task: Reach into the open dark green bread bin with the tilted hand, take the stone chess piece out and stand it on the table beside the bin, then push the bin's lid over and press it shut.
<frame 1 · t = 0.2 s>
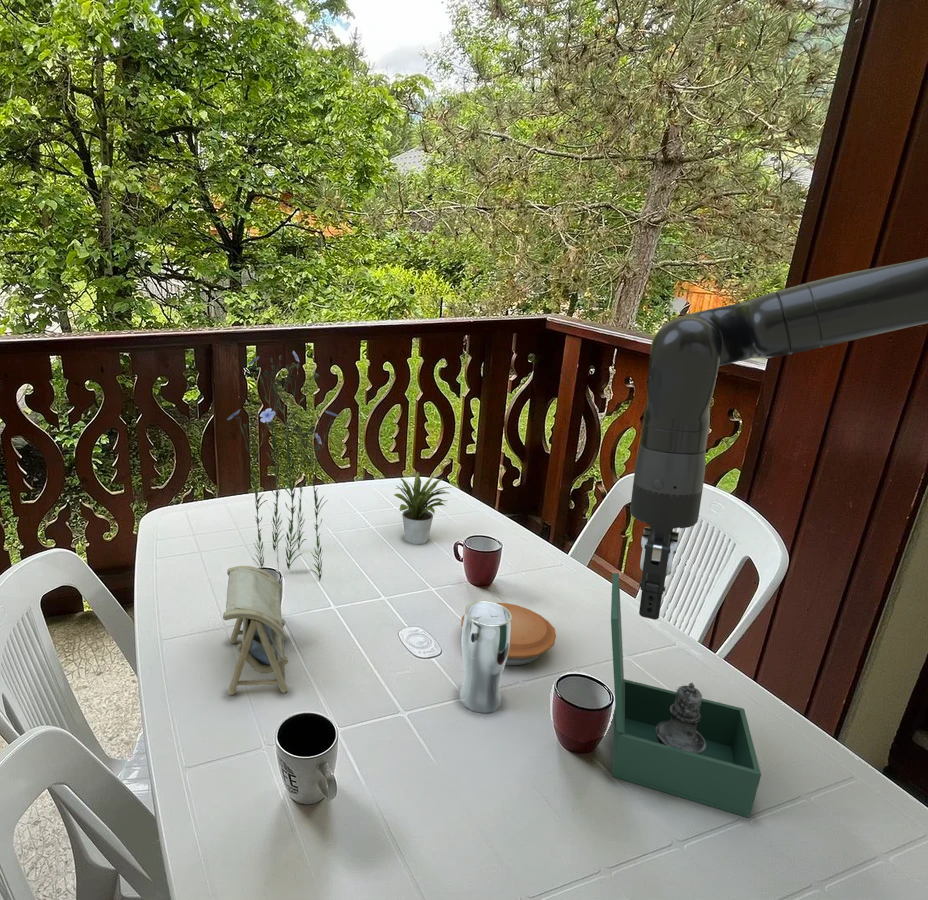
hand: (651, 602, 82), 22 cm above the table, tool pointing down, fingers open, 8 cm apart
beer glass: (479, 700, 96), on the table
house plant: (415, 542, 147), on the table
bread bin: (674, 762, 84), on the table
stone chess piece: (675, 759, 84), resting on bread bin
pie: (505, 646, 109), on the table
bin lid: (617, 649, 83), point 15 cm above the table, hinge at 100.0°
swing bench: (257, 666, 103), on the table
wildflower: (287, 567, 135), on the table
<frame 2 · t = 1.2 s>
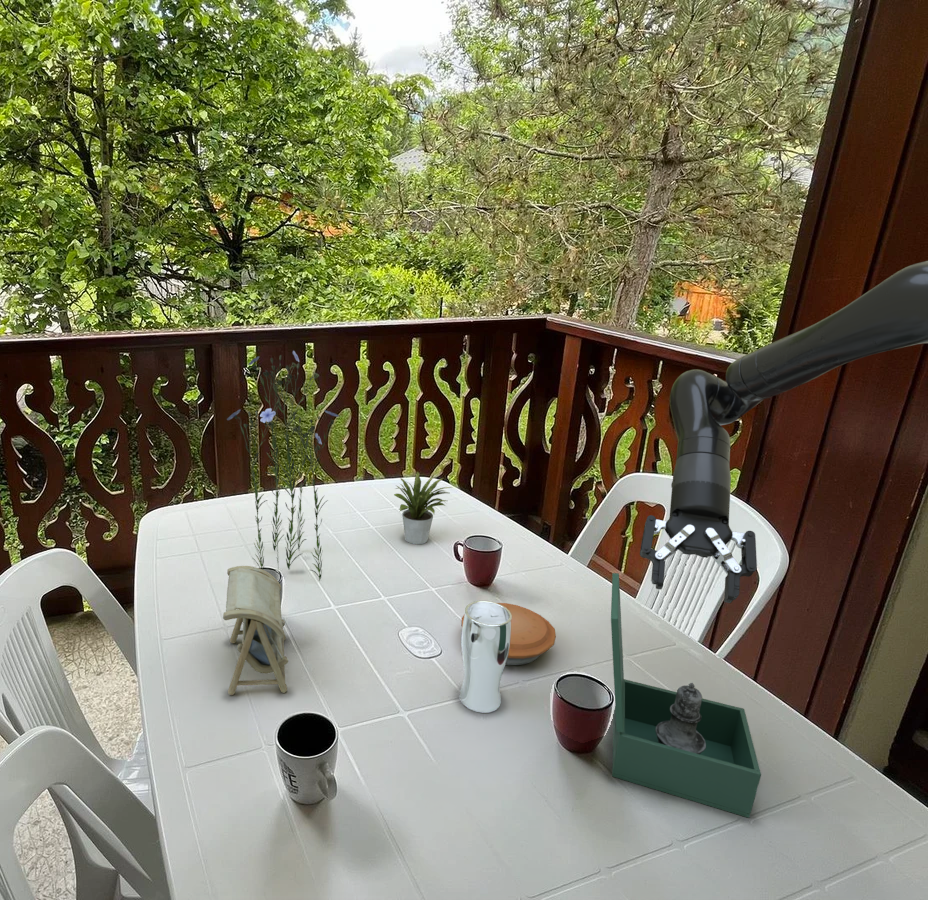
hand: (693, 594, 88), 19 cm above the table, tool tilted 45°, fingers open, 8 cm apart
nothing on the table moved.
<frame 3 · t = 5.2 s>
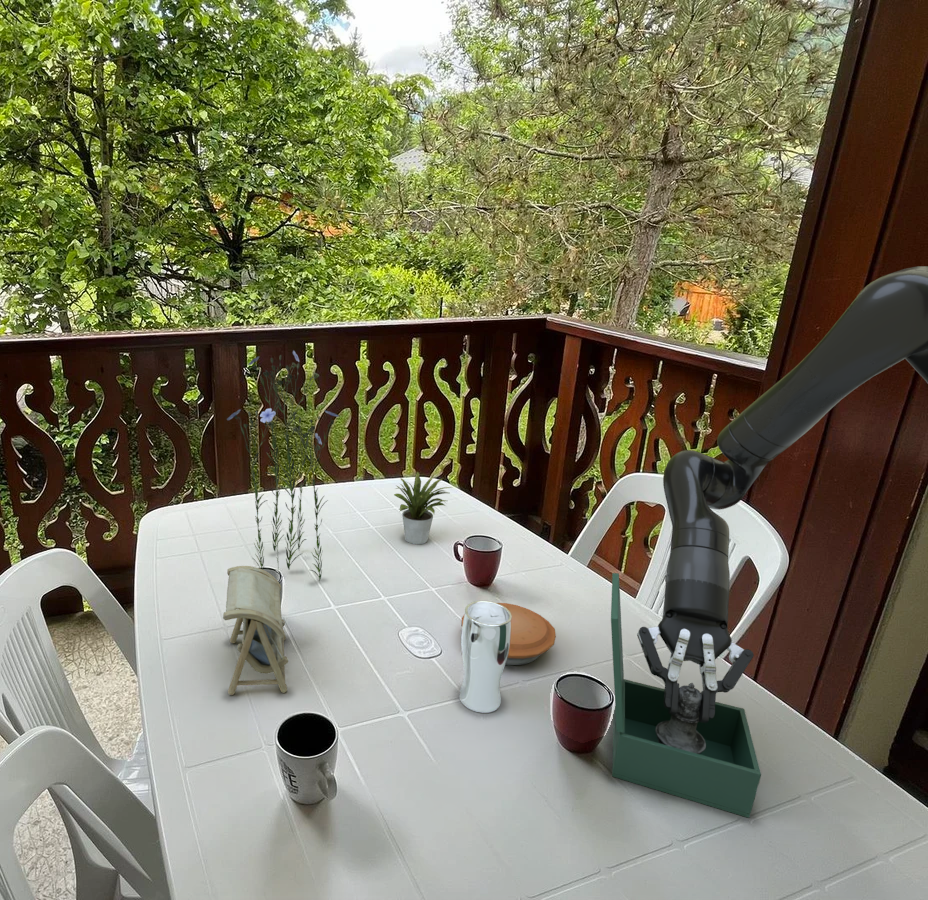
hand: (688, 717, 80), 9 cm above the table, tool tilted 45°, fingers closed on stone chess piece, 3 cm apart
stone chess piece: (675, 759, 84), resting on bread bin, touching gripper
everything else where it was.
when the fingers open (8 cm above the table, at t = 14.6 s): stone chess piece stays where it is, on the table.
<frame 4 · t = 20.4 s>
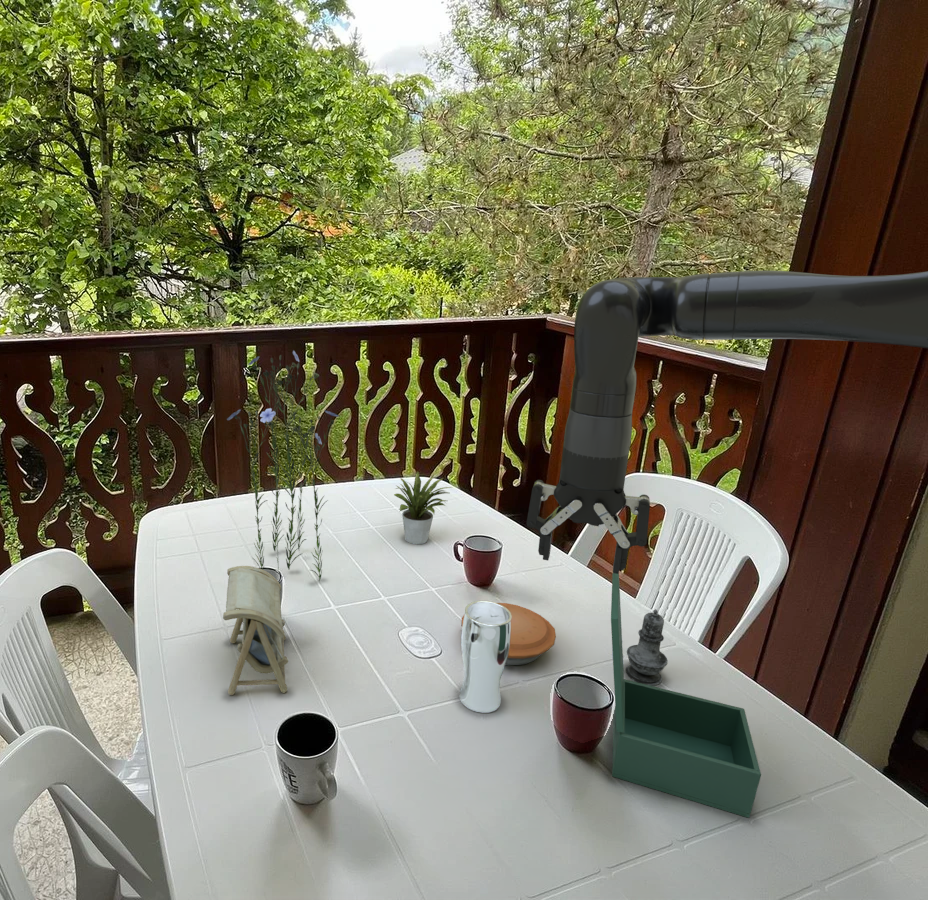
hand: (580, 564, 83), 26 cm above the table, tool pointing down, fingers open, 8 cm apart
stone chess piece: (643, 675, 102), on the table
everything else where it was.
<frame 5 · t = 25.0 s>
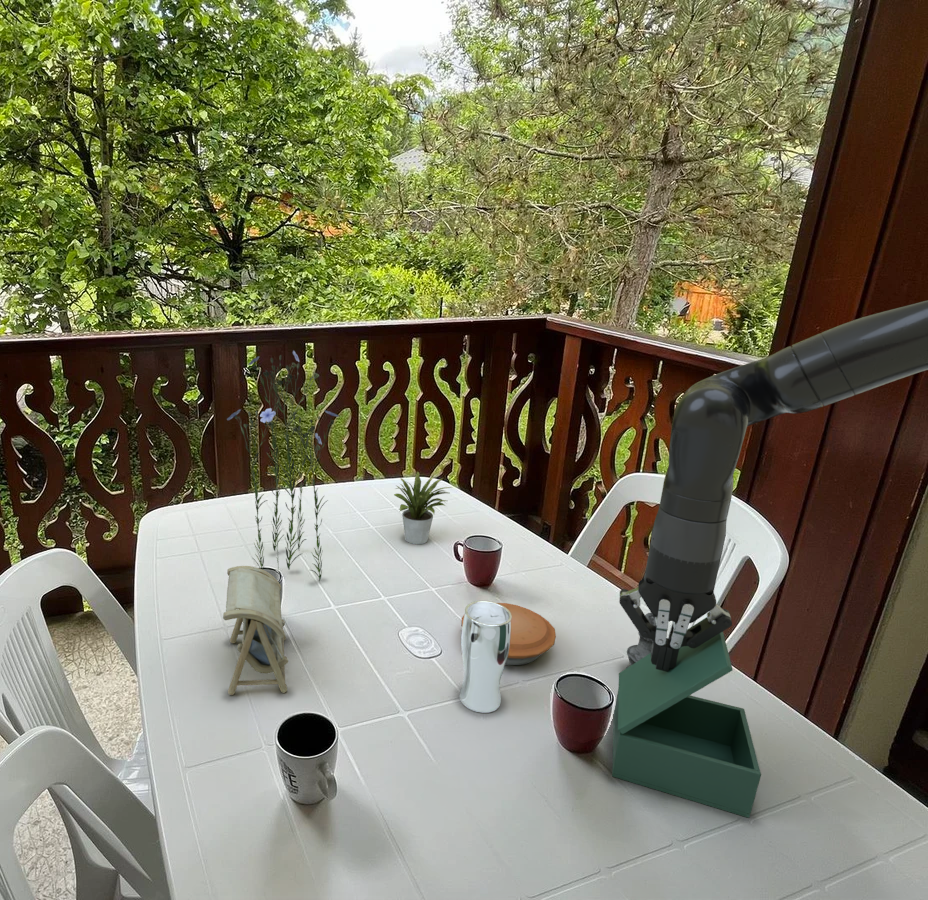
hand: (661, 667, 82), 14 cm above the table, tool pointing down, fingers closed
bin lid: (669, 672, 81), point 13 cm above the table, hinge at 52.2°, touching gripper
everything else where it was.
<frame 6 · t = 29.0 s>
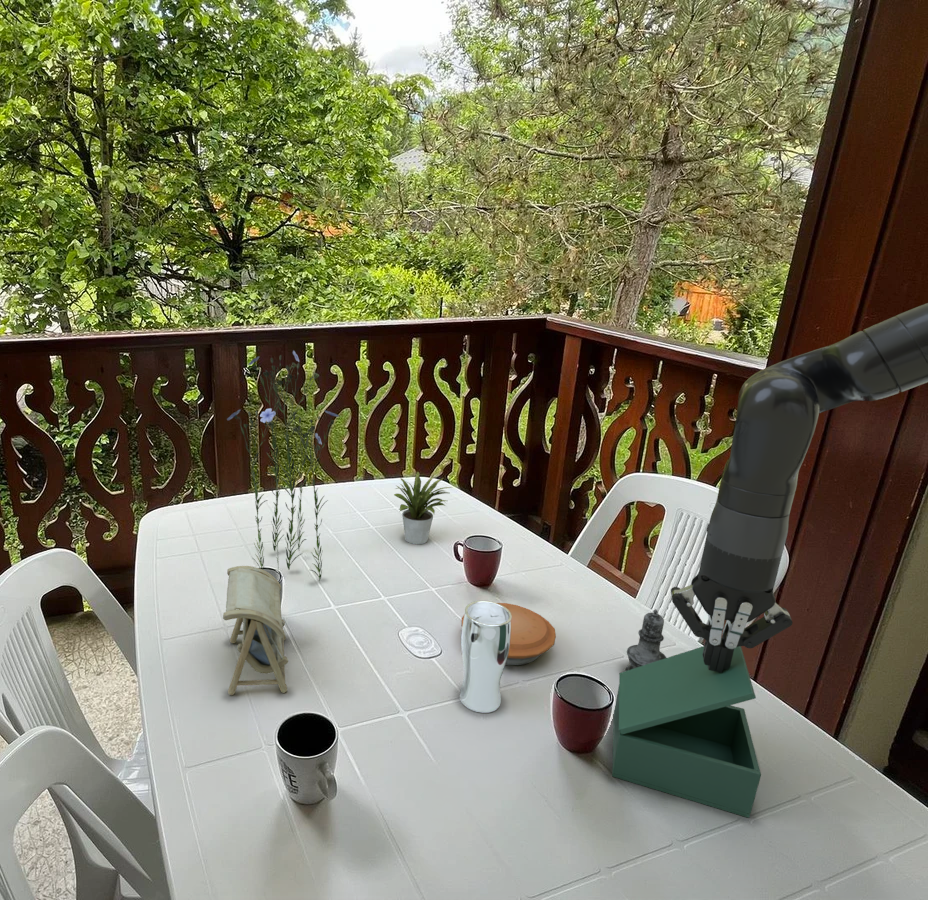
hand: (714, 667, 79), 16 cm above the table, tool pointing down, fingers closed
bin lid: (679, 684, 81), point 12 cm above the table, hinge at 37.8°
everything else where it was.
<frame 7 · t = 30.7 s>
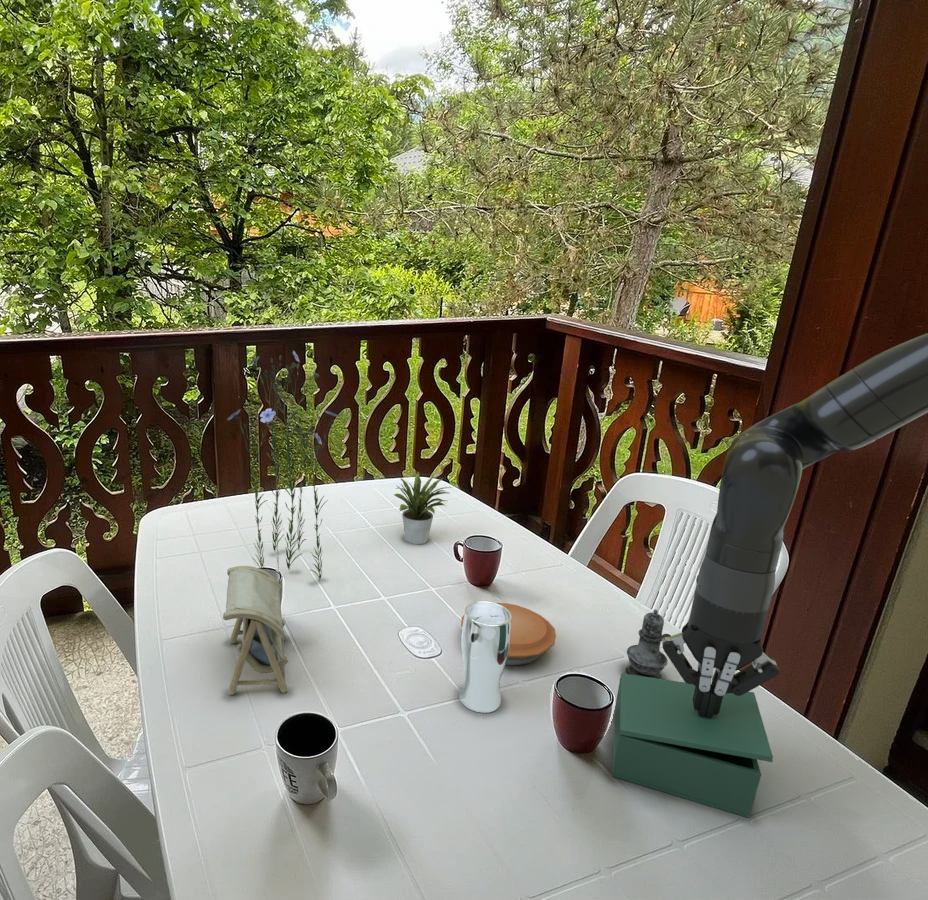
hand: (704, 712, 81), 9 cm above the table, tool pointing down, fingers closed
bin lid: (688, 713, 82), point 8 cm above the table, hinge at 7.2°, touching gripper
everything else where it was.
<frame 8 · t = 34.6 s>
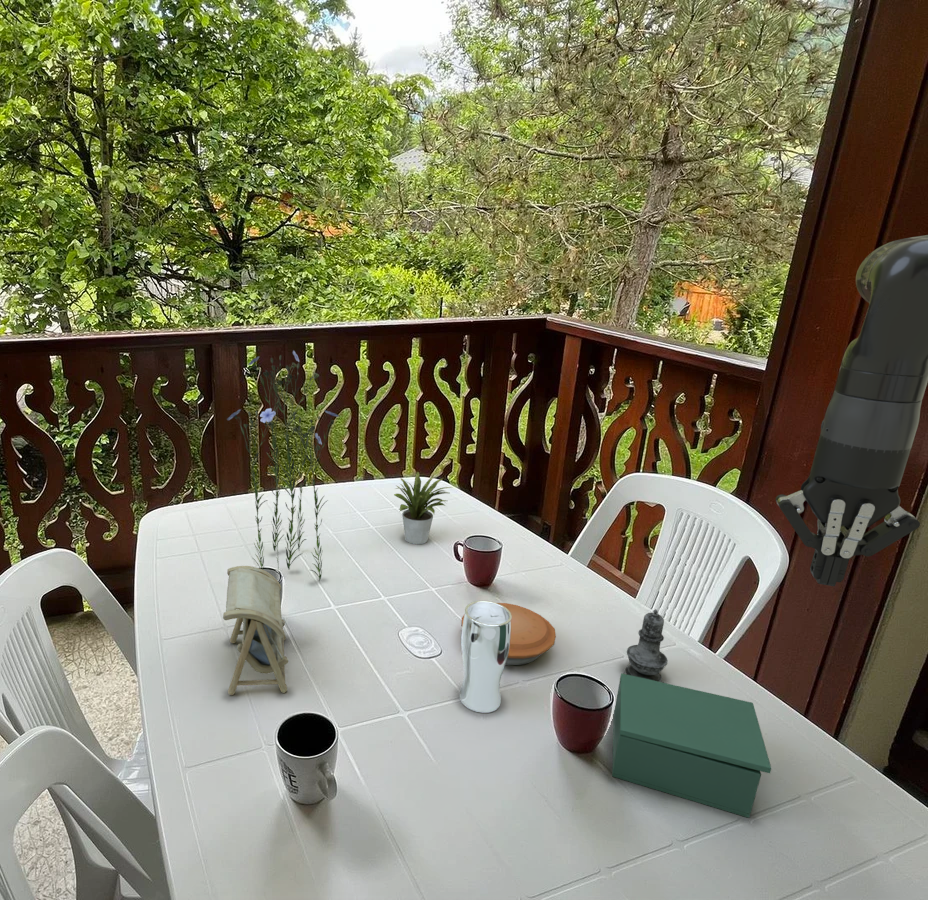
hand: (824, 581, 72), 29 cm above the table, tool pointing down, fingers closed
bin lid: (688, 718, 82), point 7 cm above the table, hinge at 1.4°
everything else where it was.
at the end: stone chess piece inside the target area (0.1 cm from its centre), on the table; stone chess piece tilted 0°; bin lid at +1° (first picture: +100°) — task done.
